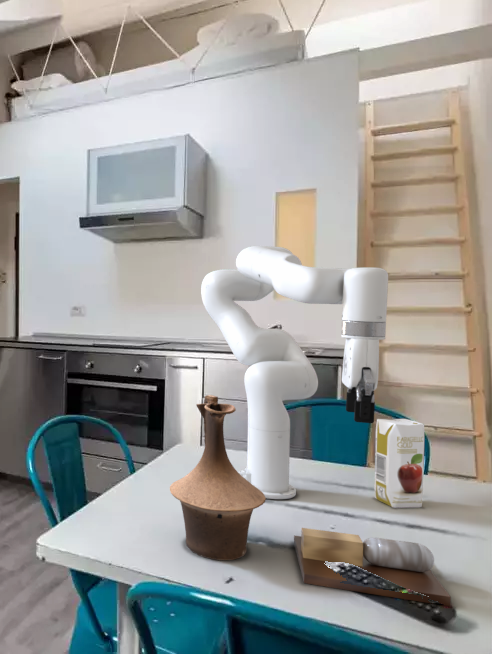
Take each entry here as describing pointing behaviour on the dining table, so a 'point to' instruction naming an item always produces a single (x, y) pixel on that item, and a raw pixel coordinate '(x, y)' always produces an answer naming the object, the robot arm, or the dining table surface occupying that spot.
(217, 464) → the pitcher
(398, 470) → the juice carton
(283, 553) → the dining table surface
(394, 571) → the chopping board
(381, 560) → the wood and marble capsule
